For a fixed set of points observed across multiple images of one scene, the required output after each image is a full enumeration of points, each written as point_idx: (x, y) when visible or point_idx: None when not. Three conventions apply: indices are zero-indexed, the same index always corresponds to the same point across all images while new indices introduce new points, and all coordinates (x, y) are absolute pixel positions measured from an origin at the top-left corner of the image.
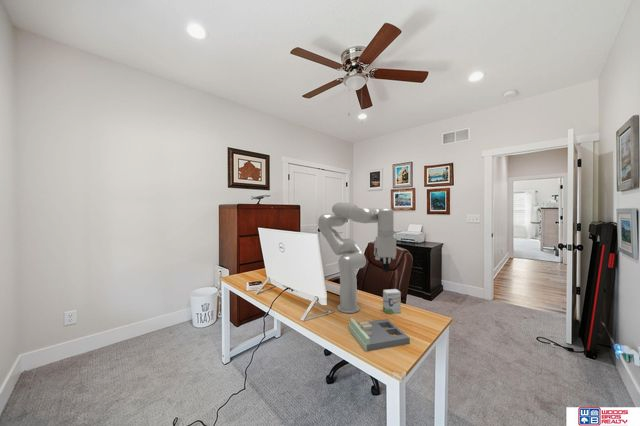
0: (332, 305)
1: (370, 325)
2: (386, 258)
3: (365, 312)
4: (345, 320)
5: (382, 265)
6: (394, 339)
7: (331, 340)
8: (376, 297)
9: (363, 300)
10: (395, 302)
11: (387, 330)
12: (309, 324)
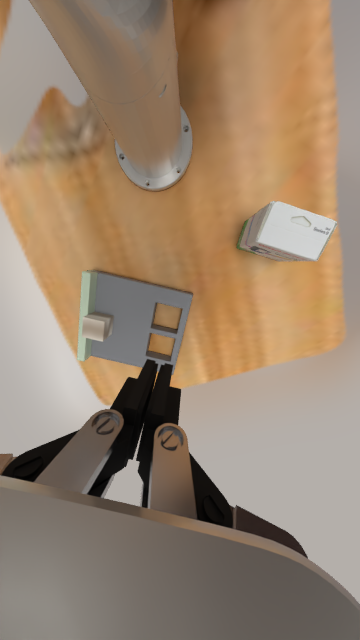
0: None
1: (100, 338)
2: (156, 494)
3: (187, 205)
4: (106, 223)
5: (114, 406)
6: (142, 365)
7: (41, 290)
8: (326, 92)
9: (253, 96)
10: (274, 255)
11: (155, 333)
12: (8, 194)
